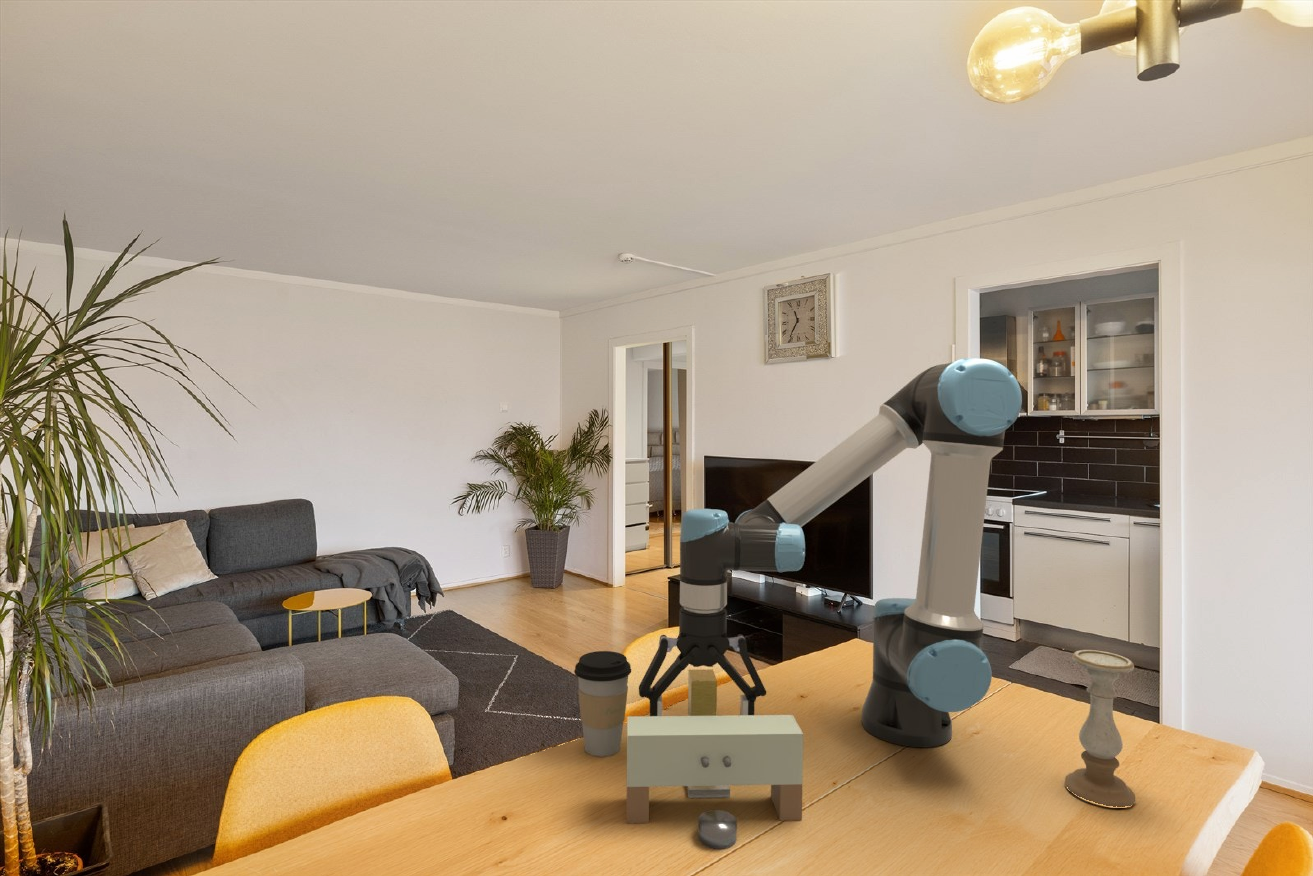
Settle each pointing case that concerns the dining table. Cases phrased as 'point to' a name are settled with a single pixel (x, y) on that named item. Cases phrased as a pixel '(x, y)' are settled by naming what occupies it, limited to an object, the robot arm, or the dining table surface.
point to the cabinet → (715, 757)
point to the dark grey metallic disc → (717, 829)
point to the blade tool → (704, 704)
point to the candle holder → (1101, 733)
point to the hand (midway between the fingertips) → (701, 738)
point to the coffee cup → (602, 700)
